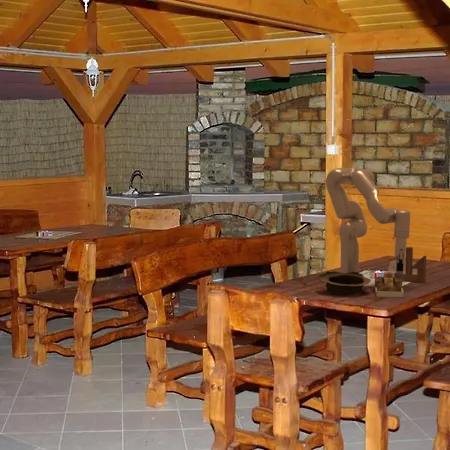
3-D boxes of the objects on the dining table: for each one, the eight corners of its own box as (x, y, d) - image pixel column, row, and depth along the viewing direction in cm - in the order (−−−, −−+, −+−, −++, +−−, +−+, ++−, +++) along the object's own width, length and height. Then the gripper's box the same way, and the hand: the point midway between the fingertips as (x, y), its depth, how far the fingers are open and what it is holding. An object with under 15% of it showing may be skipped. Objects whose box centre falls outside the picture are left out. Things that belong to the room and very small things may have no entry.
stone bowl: (330, 285, 423) (332, 267, 422) (376, 293, 411) (378, 275, 410) (310, 292, 402) (311, 274, 401) (358, 301, 390) (360, 282, 388)
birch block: (384, 287, 406) (384, 279, 405) (384, 285, 409) (384, 277, 409) (392, 287, 405) (393, 279, 404) (392, 285, 409) (392, 277, 408)
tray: (375, 296, 394) (376, 291, 394) (375, 292, 406) (375, 287, 405) (403, 297, 392) (403, 292, 392) (402, 292, 404) (402, 287, 404)
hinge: (386, 275, 455) (388, 257, 457) (388, 277, 459) (390, 259, 461) (416, 277, 447) (418, 259, 449) (418, 279, 451) (420, 261, 453)
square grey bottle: (394, 281, 420) (395, 254, 418) (393, 280, 423) (395, 253, 421) (404, 282, 419) (405, 254, 417) (403, 280, 423) (405, 253, 421)
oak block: (384, 285, 410) (384, 273, 409) (383, 284, 414) (384, 272, 413) (392, 285, 409) (392, 273, 409) (392, 284, 413) (392, 272, 413)
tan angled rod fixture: (423, 283, 431) (424, 248, 429) (403, 281, 437) (404, 247, 435) (425, 282, 434) (426, 248, 432) (406, 280, 440) (407, 246, 438)
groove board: (375, 292, 406) (375, 281, 405) (374, 287, 419) (374, 276, 418) (402, 292, 404) (402, 281, 403) (400, 288, 417) (400, 277, 416)
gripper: (393, 232, 427) (391, 267, 429) (394, 236, 410) (392, 272, 413) (408, 232, 426) (406, 267, 428) (410, 237, 409) (408, 273, 412)
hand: (399, 269), depth 420 cm, fingers closed on square grey bottle, 3 cm apart
